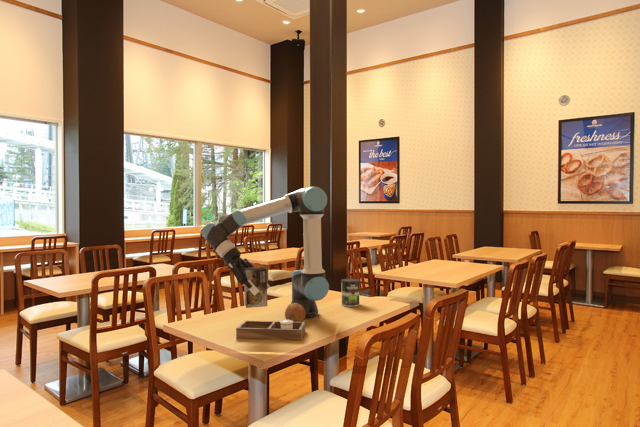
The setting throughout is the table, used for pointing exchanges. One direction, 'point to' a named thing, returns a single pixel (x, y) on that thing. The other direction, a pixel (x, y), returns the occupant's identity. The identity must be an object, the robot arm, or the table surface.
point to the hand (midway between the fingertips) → (262, 290)
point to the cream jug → (286, 324)
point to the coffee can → (350, 292)
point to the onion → (295, 312)
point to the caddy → (269, 330)
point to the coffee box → (260, 281)
